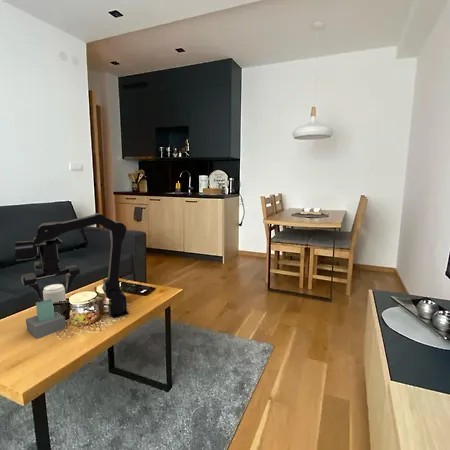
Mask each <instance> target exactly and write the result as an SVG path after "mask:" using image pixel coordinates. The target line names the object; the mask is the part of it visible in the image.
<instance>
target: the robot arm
mask: <svg viewBox="0 0 450 450" xmlns="http://www.w3.org/2000/svg"><path fill="white" fill-rule="evenodd" d="M95 225H100V226H101V227H103V228H105V229H107V230H108V231H109V238H110V254H109V263H108V264H109V265H108V274H107V275H108V276H107V278H106V279H104V278H103V279H102V283H103V284H102V286H101V288H102V292H103V293H104V294H105V297H106V298H107V299H108V304H107V307H108V308H107V311H108V312H107V313H108V314H109V315H110V316H111V317H112V318H114V319H115V318H119V317H121V316H125V315H128V314H129V311H128V307H127V296H126V295H125V293H124V291H123V290H122V289H121V284H120V278H119V277H120V275H119V274H120V268H121V267H120V264H121V254H122V253H121V252H122V246H123V245H122V244H123V242H124V240H125V237H126V235H127V234H126V233H127V226H126V225H125V223H123V222H121V221H118V220H115V221H114V220H112V219H110V218H108V217H106V216H104V215H103V214H102V213H99V212H96V213H94V214H91V215H87V216H83V217H78V218H75V219H70V220H66V221H53V222H50V221H49V222H43V223H41V224H40V225H39V226H38V228H37V234H36V236H34V237H33V239H32V240H26V241H15V243H14V246H15V247H14V249H15V252H14V257H15V260H16V262H17V261H26V260H33V259H36V257H37V256H39V255H40V261H34V262H33V265H34V270H35V271H40V272H41V273H39V274H35V273H34V272H30V273H24V274H22V275H21V277H20V279H21V283H22V284H23V285H22V286H27V287H28V288H32V289H33V290H34V291H35V293H36V295H37V296H38V298H39V300H42V294H41V290H40V287H39V283H38V282H37V281H39V280H44V279H49V278H52V277H57V276H62V275H63V276H64V275H65V293H67V294H68V293H69V292H70V289H71V285H72V283H73V281H74V279H75V278H77V277H78V275H80V274H81V269H80V267H79V266H77V265H76V264H72V265H68V266H67V265H66V266H65V267H64V268H65V269H61V267H60V258H59V251H58V245H62V244H63V240H61V239H60V238H59V236H61V235H63V234H65V233H67V232H72V231H76V230H79V229H82V228H84V229H85V228H87V227H92V226H95ZM44 241H45V242H44ZM38 248H39V249H38ZM39 253H40V254H39Z"/></svg>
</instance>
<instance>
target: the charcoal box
mask: <svg viewBox="0 0 450 450" xmlns="http://www.w3.org/2000/svg"><path fill="white" fill-rule="evenodd" d="M54 316H55V318H53V319H50V320H46V321H42V322H39V320H38V318H37V315H34V316H31V317H28V318H25V324H26V325H25V326H26V331H27V332H28V333H30V334H31V336H33V337H34V338H35V339H36V340H38V339H41V338H43V337H46V336H49V335H52V334H54V333H58V332H59V331H63V330H65V329H66V327H67V326H66V317H65V316H64V315H63V314H62V315H61V314H59V313H58V312H54Z"/></svg>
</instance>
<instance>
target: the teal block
mask: <svg viewBox="0 0 450 450" xmlns="http://www.w3.org/2000/svg"><path fill="white" fill-rule="evenodd" d="M35 307H36V316H37V318H38V320H39V322H42V321H46V320H50V319H53V318H55V316H54V306H53V302H52V300H51V299H49V300H45V301H44V300H42V301H37V302H35Z"/></svg>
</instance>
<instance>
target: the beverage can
mask: <svg viewBox="0 0 450 450" xmlns="http://www.w3.org/2000/svg"><path fill="white" fill-rule="evenodd" d="M42 295H43V296H42V297H43V298H42V299H43V301H45V300H49V299H51V300H52V302H53V303H54V302H59V301H66V302H67V300H66V299H67V297H66V287H65V286H64V285H63V284H62V283H54V284H50V285H49V284H48V285H45V287H44V288H43V290H42Z"/></svg>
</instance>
